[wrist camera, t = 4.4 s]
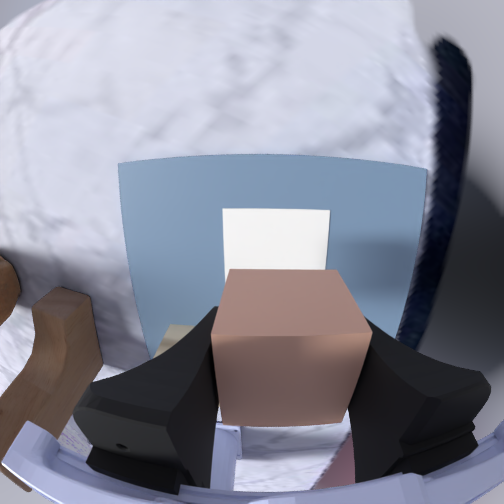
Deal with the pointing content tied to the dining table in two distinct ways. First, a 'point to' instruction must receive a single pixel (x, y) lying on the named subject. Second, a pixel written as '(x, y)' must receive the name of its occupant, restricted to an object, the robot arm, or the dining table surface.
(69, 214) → the dining table surface
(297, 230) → the board
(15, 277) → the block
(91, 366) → the wooden block
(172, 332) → the maple block
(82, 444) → the paper bowls
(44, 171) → the dining table surface
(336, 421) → the terracotta block
